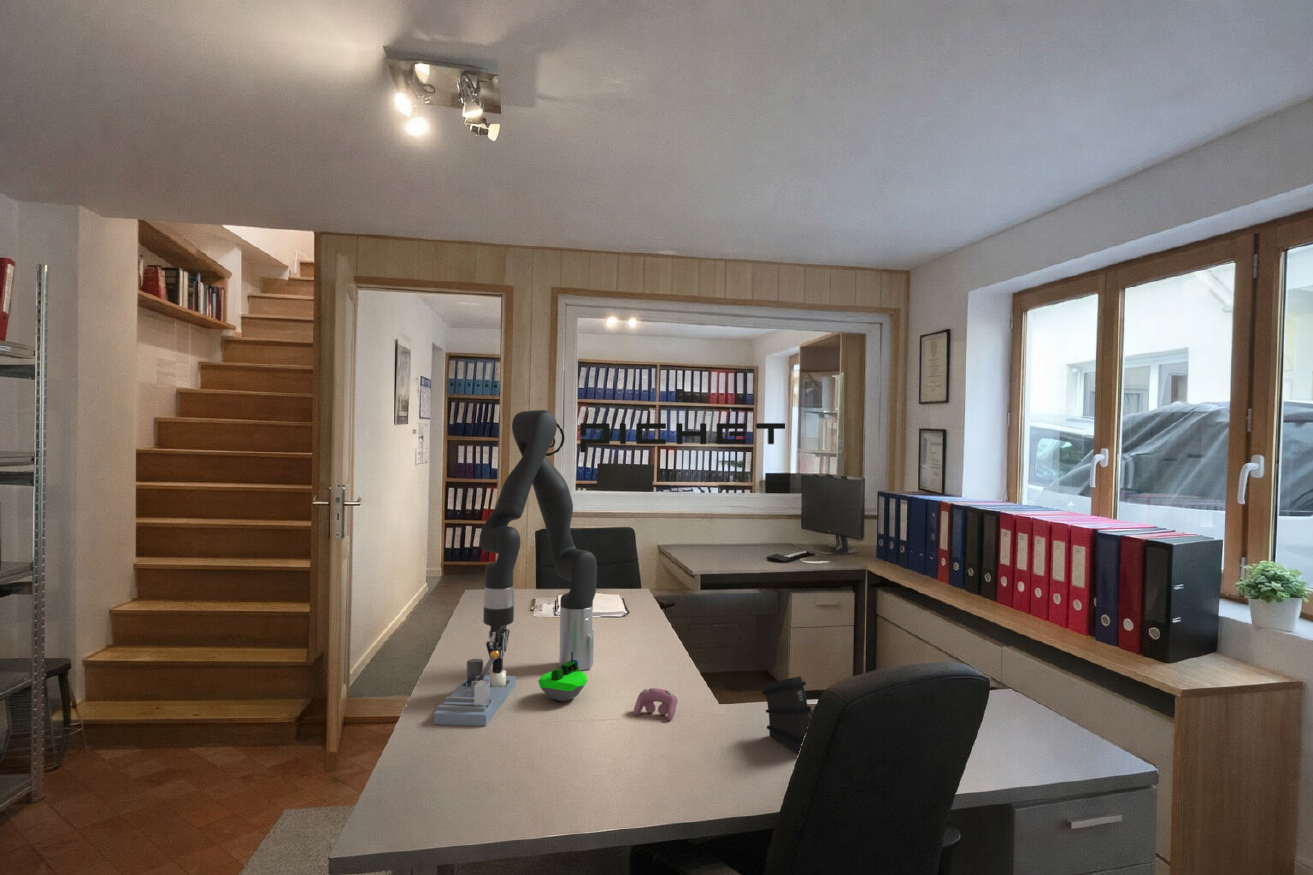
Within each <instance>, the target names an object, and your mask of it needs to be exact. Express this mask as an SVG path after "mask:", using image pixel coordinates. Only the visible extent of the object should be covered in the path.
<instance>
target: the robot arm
mask: <svg viewBox="0 0 1313 875" xmlns="http://www.w3.org/2000/svg"><path fill="white" fill-rule="evenodd" d="M557 424H558V423H557V419H556V417H555V415H554V414H553V413H552V412H551V411H549V410H546V409H538V410H524V411H523V410H522V411H519V412H518V413H516V414H515V415H514V416H513V419H512V422H511V430H512V431H511V432H512V435H513V438H514V440H515V443H516V445H517V447H518V451H519V453H520V454H521V459H520V460H519V462H518V463H517V464H516V465H515V467H514V468H513V469H512V471H510V473H509V474H508V475H507V477H506V479H505V481H504V482H503V484H502V487H501V489H500V492H499V497H498V499H497V502H496V506H495V507H494V509H493V511H492V512H491V513H490V515H489V516H488V518H487V519H486V522H484V525H483V526H482V528H481V531H480V534H479V544H480V547H481V549H482V550H483V551H485V552H487V553H493V554H498V555H497V559H496V561H495V562H490V563H488V564H487V565H486V567H485V571H484V575H485V576H484V593H483V624H484V625H486V626H489V627H490V630H489V631H488V640H489V641H486V643H485V646H486V649H487V652H488V657H489V658H490V657H491V656H490V653H491V652H492V651H493V650H497V651H499V657H498V658H497V659H495V660H494V662H493V663H492V671H493V673H501V672H502V670H504V666H503V664H504V657H505V653H506V652H507V647H508V642H509V637H510V636H509V635H510V629H509V628H507V626H509V625H511V624H512V623H513V622H514V617H515V616H514V615H515V614H514V613H515V608H514V607H515V592H514V591H515V590H514V570H515V566H516V563H517V560H518V555H519V552H520V549H521V548H520V547H521V535H520V534H519V531H518V530H517V529H516V528H515V527H513V526H508V525H509V523H511V522H512V521H514V520H519V519H521V517H522V516H523V513H524V510H525V507H526V503H527V500H528V498H529V495H530V492H531V488H532V487H533V490H534V494H535V498H536V501H537V504H538V507H539V510H540V513H541V516H542V520H543V522H544V526H545V530H546V532H547V536H548V540H549V544H550V549H551V554H552V558H553V560H552V561H553V563H554V564H553V565H554V568H555V572H556V573H557V575H558V577H560V578H561V579H563V580H565V581H569V582H570V589H569V592H566V593H565V594H562V595H561V596H560V601H559V602H560V604H559V606H560V608H559V610H560V611H559V659H558V660H559V666H558V667H559V669H561V665H562V664H564V663H566V662H568V661H571V652H573V660H577V661H578V667H579V668H580V669H579V671H583V670H584V671H585V670H591V668H592V666H593V665H594V639H595V638H594V636H595V634H594V632H595V631H594V630H593V618H594V617H593V615H594V612H593V610H594V599H595V596H596V591H597V577H598V563H597V559H596V558H597V557H596V556H595V555H594V554H593V552H591V551H589V550H582V549H578V548H577V547H576V545H575V543H574V541H573V540H574V539H573V537H572V533H571V532H572V531H571V522H572V517H573V511H574V504H573V499H572V496H571V492H570V489H569V486H568V484H567V482H566V480H565V479H564V476H562V474H561V473H560V471H559V470H558V469H557V468H556V467H555V466H554V464H553V463H552V462H551V461H550V460H549V458H548V456H547V453H548V451H549V449H550V448H551V446H552V443H553V442H554V438H555V436H556V435H557V434H556V433H557V429H558V428H557V427H558V425H557Z"/></svg>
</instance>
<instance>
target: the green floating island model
mask: <svg viewBox="0 0 1313 875" xmlns="http://www.w3.org/2000/svg"><path fill="white" fill-rule="evenodd" d="M579 669H580V668H579V667H578V661H577V660H573V652H571V661H568V662H566V663H564V664H562V665H561V668H553V669H552V671H549V672H546V673H544V674H542V675H541V676H540V677H539V679H538V681H537V682H538V684H539V687H540V689H541V690H542V691H543V693H544V694H546V696H547V698H549V699H550V700H551V699H552V700H555V701H559V702H562V703H565V702H567V701H570V700H573V699H574V698H576V697H577V696H578V695H579V694H580V693H581V691H582V689H583V688H584V687H585V686H586V684H587V683H588V676H587V674H586V673H585V672H583V670H579Z"/></svg>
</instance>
